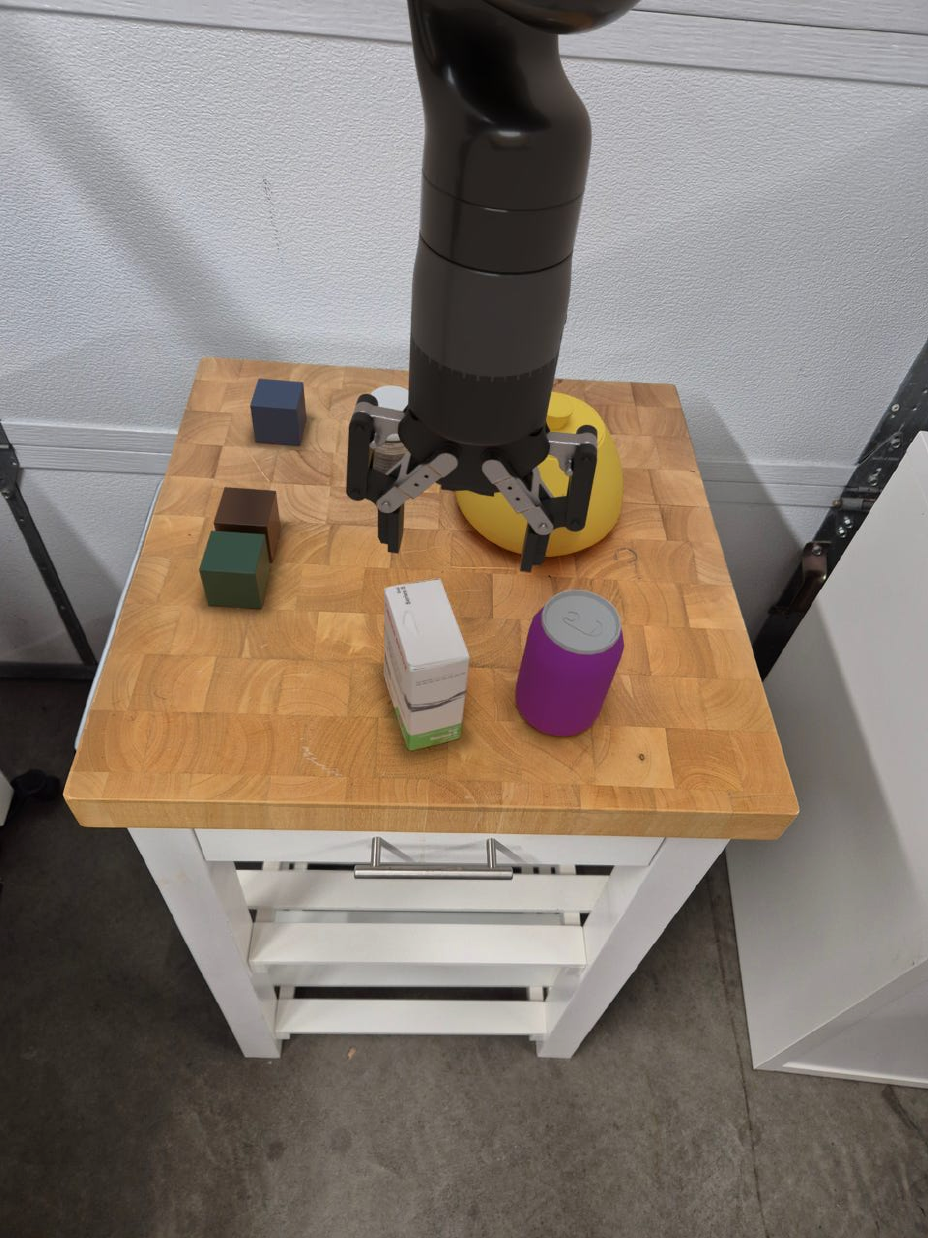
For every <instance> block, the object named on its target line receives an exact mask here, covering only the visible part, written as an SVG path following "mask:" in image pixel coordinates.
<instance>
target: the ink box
mask: <svg viewBox="0 0 928 1238" xmlns="http://www.w3.org/2000/svg"><path fill="white" fill-rule="evenodd" d="M383 594H384V595H383V677H384V680H385V684H386V687H387V690H388V693H389V696H390V699H391V701H392V705H393V709H394V712H395V715H396V718H397V722H398V724H399V729H400V731H401V734H402V738H403V741H404V744H405V746H406V750H408V751H412V752H413V751H416V750H420V749H425V748H428V747H432V746H436V745H440V744H444V743H448V742H452V741H455V740H459V739H460V738H461V736H462V726H463V718H464V710H465V703H466V694H467V685H468V676H469V668H470V659H471V656H470V653H469V650H468V647H467V645H466V642H465V639H464V637H463V634H462V632H461V630H460V627H459V624H458V621H457V619H456V616H455V614H454V611H453V607H452V606H451V603H450V601H449V598H448V595H447V592H446V590H445V587H444V585H443V582H442V579H441V578H439V577H438V578H431V579H424V580H419V581H413V582H407V583H401V584H397V585H391V586H386V587H385V588H384V589H383Z"/></svg>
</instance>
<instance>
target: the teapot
mask: <svg viewBox="0 0 928 1238" xmlns="http://www.w3.org/2000/svg"><path fill="white" fill-rule="evenodd" d="M546 422H547V425H548V427H549V429H550V432H561V433H572V434H576V431H577V429H578V428H579V427H581V426H583V425H591V426H594V427H595V428H596V429H597V432H598V439H597V440H598V444H597V465H596V470H595V475H594V481H593V486H592V492H591V497H590V502H589V508H588V513H587V518H586V524H585V527H584V528H583V529H582V530H581V531H577V532H573V531H570V530H568V529H567V528H566V527H560V528H557V529H555V530H553V531H552V532H551V534H550V537H549V542H548V546H547V550H546V555H545V558H554V557H561V556H566V555H570V554H573V553H577V552H579V551H582V550H585V549H587V548H590V547H592V546H593V545H596V544H597V543H599V542H600V541H601V540H603V539H604V538H605V537H606V536H607V535H608V534H609V533H610V532H611V531H612V530H613V528H614V527H615V525H616V524H617V522H618V520H619V517H620V515H621V511H622V507H623V502H624V495H625V493H624V492H625V489H624V487H625V486H624V485H625V482H624V481H625V479H624V471H623V465H622V461H621V457H620V454H619V451H618V449H617V446H616V444H615V441H614V438H613V437H612V435H611V432H610V431H609V428H608V427H607V425H606V423H605V421H604V419H603V418H602V417H601V416H600V414H599V413H598V412H597V410H595V409H594V407H592V406H590V405H589V404H588V403H587V402H584V401H583V400H581V399H579V398H578V397H574V396H572V395H569V394H566V393H563V392H562V393H561V392H557V391H552V392H551V397H550V403H549V408H548V413H547V418H546ZM537 467H538V469H539V472H540V476H541V479H542V481H543V482H544V483H545V485H546V486H547V488H548V489H549V491H550V492H551V494H552V495H553V496H554V497H562V496H566V494H567V488H568V482H569V476H566V475H565V472H564V471H562V470H561V469H560V467H559V462H558V460H557V458H555V457H554V456H552V455H548V456H547V458H546V459H545V460H544V461H543V462H542V463H541V464H539V465H538V466H537ZM454 492H455V497H456V501H457V503H458V506H459V508H460V511H461V513H462V514H463V516H464V518H465V519H466V520H467V522H468V523H469V525H471V527H473V528H474V529H475V530H476V531H477V532H478V533H479V534H480V535H482V536H483V537H484V538H485V539H487V540H488V541H489V542H491V543H493V544H494V545H496V546H498V547H500V548H502V549H504V550H506V551H508V552H512V553H514V554H517V555H522V548H523V542H524V537H525V532H526V527H527V520H526V519H525V517H524V516H523V515H522V514H521V513H520V514H517V513H516V512H515V511H514V509H513V508H512V507H511V505H510V504H509V503H508V501H507V500H506V499H505V497H504V496H503V495H502V493H501V492H498V493H494V497H492V496H485V495H479V494H477V493H474V492H471V491H467V490H466V491H454Z"/></svg>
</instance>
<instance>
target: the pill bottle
mask: <svg viewBox="0 0 928 1238" xmlns="http://www.w3.org/2000/svg"><path fill="white" fill-rule="evenodd" d="M370 394H371V395H373V396H374V397H375V398H376V399H377V401H378V407H384V408H389V409H394V410H399V411H403V410H404V408H405V407H406V406H407V405H408V389H407V388H405V387H403V386H399V385H389V384H387V385H383V386H379V387H377V388H375V389H374V390H373V391H372V392H371V393H370ZM406 452H407V449H406V447H405V446H404V445H403V443H402V442H401V441H400V439H399V436H398V434H391V435H389V436H388V437H387V439H386V442H385V443H384V444H383V445H381V446H378V447H377V448H376V449H375V458H374V469H375V470H377V471H380V472H382V473H384V474H385V473H387V472H388V471H389V470H390V469H391V468H392V467H393V466H395V465H396V464H397V463H398V462H399V461H400V460H401V459H402V458H403V456H404V454H405V453H406Z"/></svg>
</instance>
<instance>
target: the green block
mask: <svg viewBox="0 0 928 1238" xmlns="http://www.w3.org/2000/svg"><path fill="white" fill-rule="evenodd" d="M198 571H199V576H200V579H201V583H202V587H203V591H204V595H205V599H206V603H207V606H211V607H224V608H225V607H226V608H241V609H252V610H253V609H255V610H261V609H262V608H263V605H264V599H265V597H266V591H267V588H268V583H269V579H270V574H271V565H270V562H269V557H268V551H267V544H266V538H265V535H264V534H252V533H238V532H224V531H215V530H210V532H209V536H208V539H207V543H206V546H205V549H204V552H203V555H202V559H201V562H200V565H199V568H198Z"/></svg>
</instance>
